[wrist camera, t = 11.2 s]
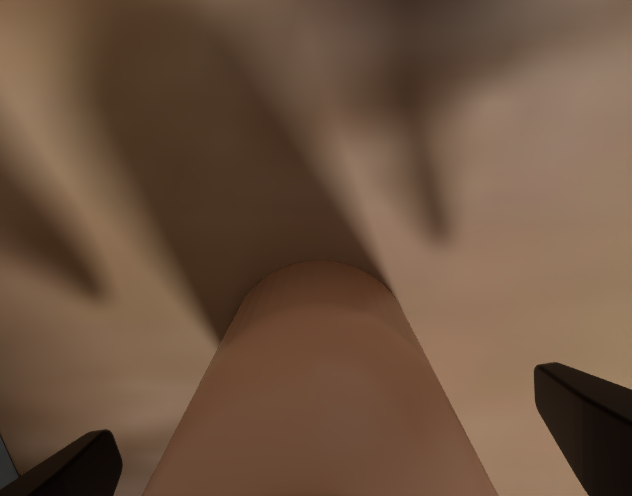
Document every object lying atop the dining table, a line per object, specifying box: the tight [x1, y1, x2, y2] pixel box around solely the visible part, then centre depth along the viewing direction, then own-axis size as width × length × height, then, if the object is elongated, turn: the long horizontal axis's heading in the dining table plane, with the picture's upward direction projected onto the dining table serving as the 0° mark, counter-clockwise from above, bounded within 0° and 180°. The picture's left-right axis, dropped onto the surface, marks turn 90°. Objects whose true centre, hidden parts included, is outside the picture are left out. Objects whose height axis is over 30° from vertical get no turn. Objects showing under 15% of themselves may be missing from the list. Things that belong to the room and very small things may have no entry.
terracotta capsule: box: [142, 261, 498, 496], centre depth 7 cm, size 5×5×7 cm
